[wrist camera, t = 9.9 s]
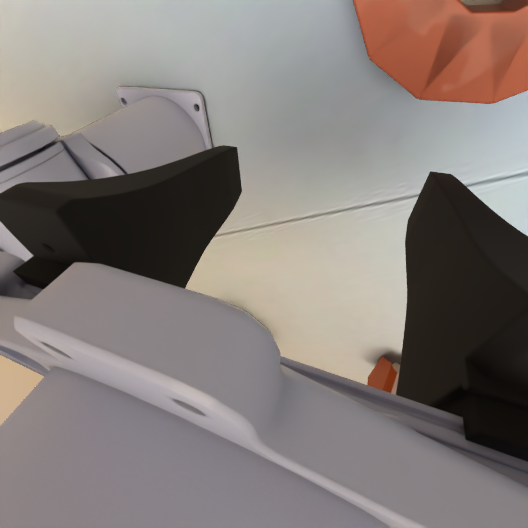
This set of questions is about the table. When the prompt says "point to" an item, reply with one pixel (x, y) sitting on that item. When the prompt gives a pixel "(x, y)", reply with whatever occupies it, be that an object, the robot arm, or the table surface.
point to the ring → (449, 47)
